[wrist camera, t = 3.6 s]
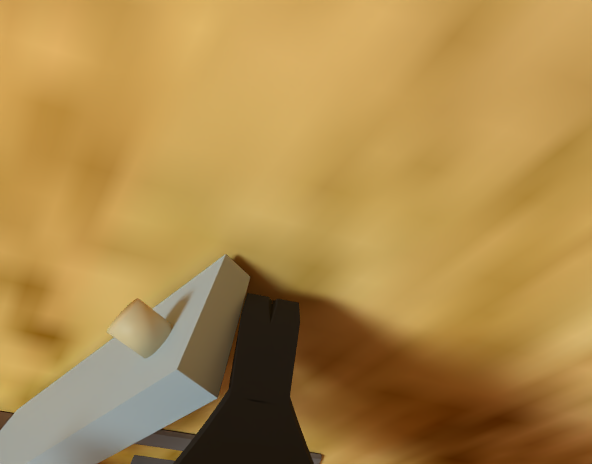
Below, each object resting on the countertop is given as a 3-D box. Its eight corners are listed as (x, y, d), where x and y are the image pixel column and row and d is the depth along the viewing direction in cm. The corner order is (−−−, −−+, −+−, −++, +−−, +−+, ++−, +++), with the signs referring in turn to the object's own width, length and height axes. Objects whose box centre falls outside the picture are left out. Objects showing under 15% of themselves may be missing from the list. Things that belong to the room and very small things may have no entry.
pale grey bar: (40, 421, 13) (-50, 543, 10) (-7, 396, 13) (-120, 519, 9) (250, 276, 9) (217, 398, 6) (199, 229, 9) (130, 336, 5)
